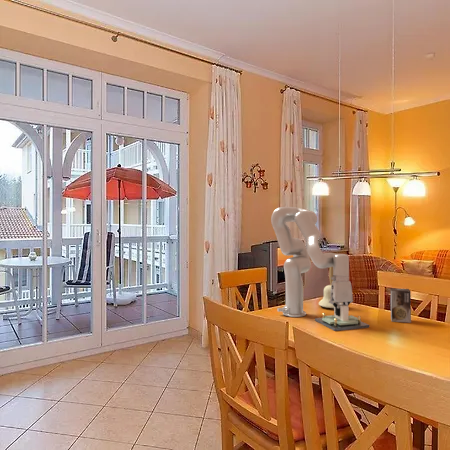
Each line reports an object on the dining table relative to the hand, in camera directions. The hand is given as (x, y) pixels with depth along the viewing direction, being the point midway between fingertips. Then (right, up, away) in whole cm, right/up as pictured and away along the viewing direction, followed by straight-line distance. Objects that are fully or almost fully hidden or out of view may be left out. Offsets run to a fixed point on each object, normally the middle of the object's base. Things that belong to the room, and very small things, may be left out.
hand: (341, 314), depth 191 cm
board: (0, -3, 0) cm, 3 cm away
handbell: (+5, -4, +35) cm, 35 cm away
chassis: (0, -4, 0) cm, 4 cm away
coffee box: (+32, -4, +5) cm, 33 cm away
